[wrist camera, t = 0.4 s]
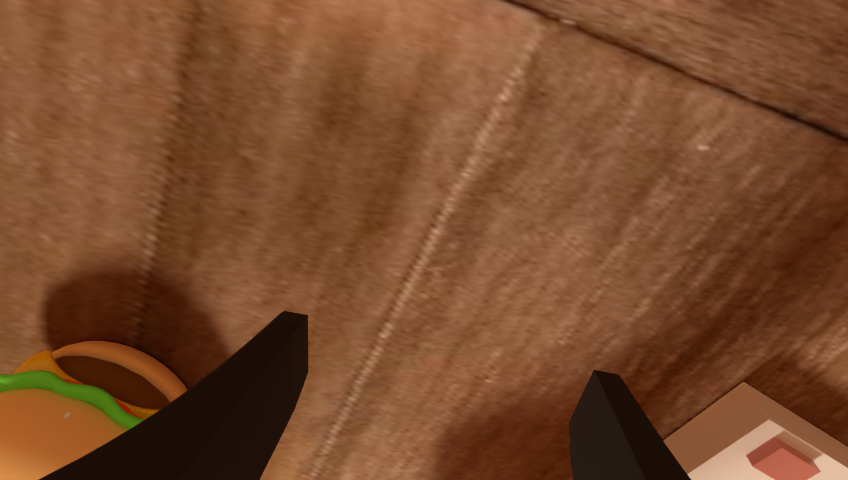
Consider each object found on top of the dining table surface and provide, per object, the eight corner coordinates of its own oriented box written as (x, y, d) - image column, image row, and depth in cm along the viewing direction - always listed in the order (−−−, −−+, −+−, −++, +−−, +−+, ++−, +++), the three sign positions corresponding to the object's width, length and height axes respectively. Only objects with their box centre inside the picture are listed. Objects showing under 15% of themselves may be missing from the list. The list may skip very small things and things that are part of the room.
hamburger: (195, 484, 33) (106, 628, 25) (32, 413, 32) (-113, 541, 24) (242, 377, 28) (147, 518, 20) (48, 286, 26) (-133, 399, 19)
